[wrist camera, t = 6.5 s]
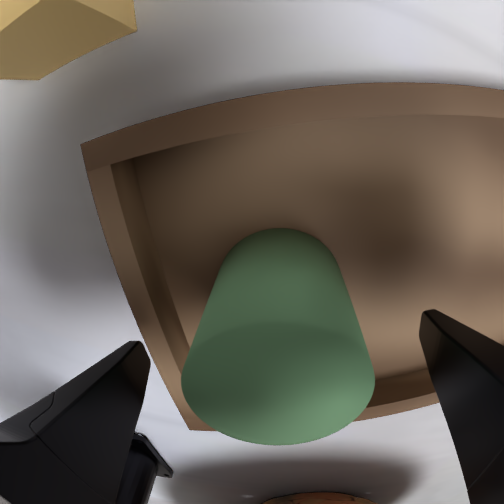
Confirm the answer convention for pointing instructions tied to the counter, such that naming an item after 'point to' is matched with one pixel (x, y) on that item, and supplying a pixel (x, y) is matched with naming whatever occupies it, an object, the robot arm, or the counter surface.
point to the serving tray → (315, 213)
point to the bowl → (319, 499)
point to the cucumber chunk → (278, 344)
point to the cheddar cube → (57, 32)
